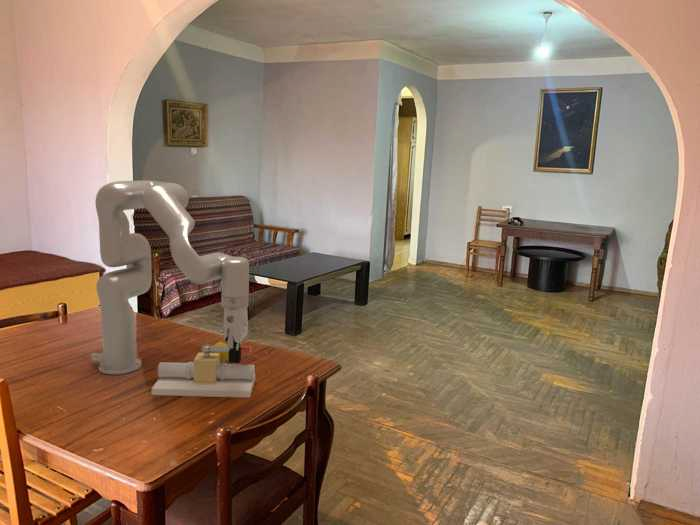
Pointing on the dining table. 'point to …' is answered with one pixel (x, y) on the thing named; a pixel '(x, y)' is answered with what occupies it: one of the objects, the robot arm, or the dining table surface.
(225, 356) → the lemon
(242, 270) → the robot arm
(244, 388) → the valve base
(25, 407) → the dining table surface
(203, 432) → the dining table surface
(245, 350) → the valve lever
